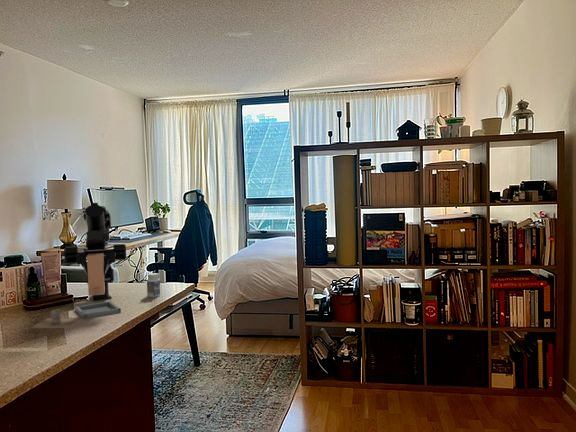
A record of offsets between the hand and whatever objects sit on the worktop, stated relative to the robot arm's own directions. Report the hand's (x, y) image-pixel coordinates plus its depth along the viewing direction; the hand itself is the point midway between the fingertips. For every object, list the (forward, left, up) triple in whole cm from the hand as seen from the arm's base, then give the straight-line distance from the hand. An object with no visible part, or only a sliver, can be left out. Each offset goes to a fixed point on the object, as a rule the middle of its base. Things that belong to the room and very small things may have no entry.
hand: (95, 274), depth 138 cm
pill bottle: (-13, +23, -13) cm, 30 cm away
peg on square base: (+4, -13, -13) cm, 19 cm away
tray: (-1, 0, -13) cm, 13 cm away
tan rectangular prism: (-1, 0, -7) cm, 7 cm away
